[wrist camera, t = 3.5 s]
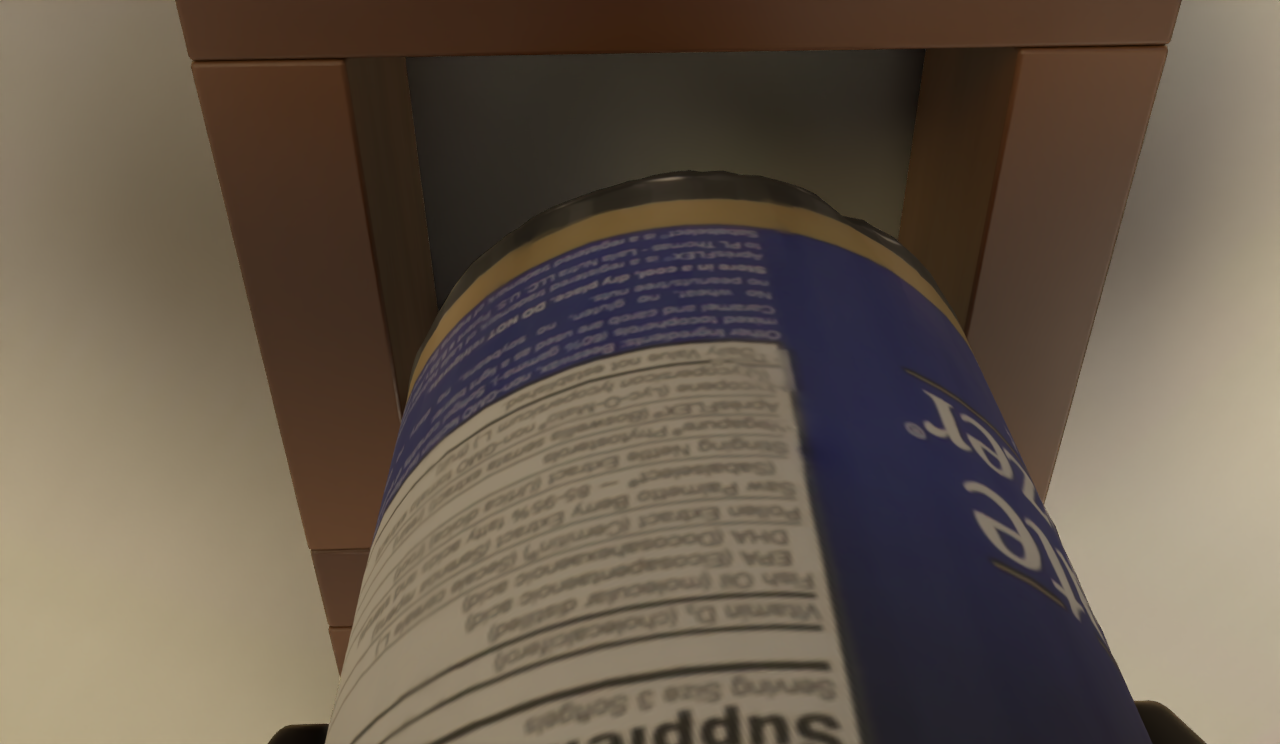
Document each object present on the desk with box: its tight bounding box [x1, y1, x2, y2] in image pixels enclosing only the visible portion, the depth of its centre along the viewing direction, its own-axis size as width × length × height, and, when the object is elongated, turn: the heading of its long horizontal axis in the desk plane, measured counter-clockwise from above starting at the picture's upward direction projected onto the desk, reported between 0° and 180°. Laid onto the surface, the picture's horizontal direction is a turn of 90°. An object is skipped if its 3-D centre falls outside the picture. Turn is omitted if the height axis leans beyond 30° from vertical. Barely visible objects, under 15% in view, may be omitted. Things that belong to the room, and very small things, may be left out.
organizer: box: [175, 0, 1182, 677], centre depth 18 cm, size 19×10×4 cm, turn 0°
